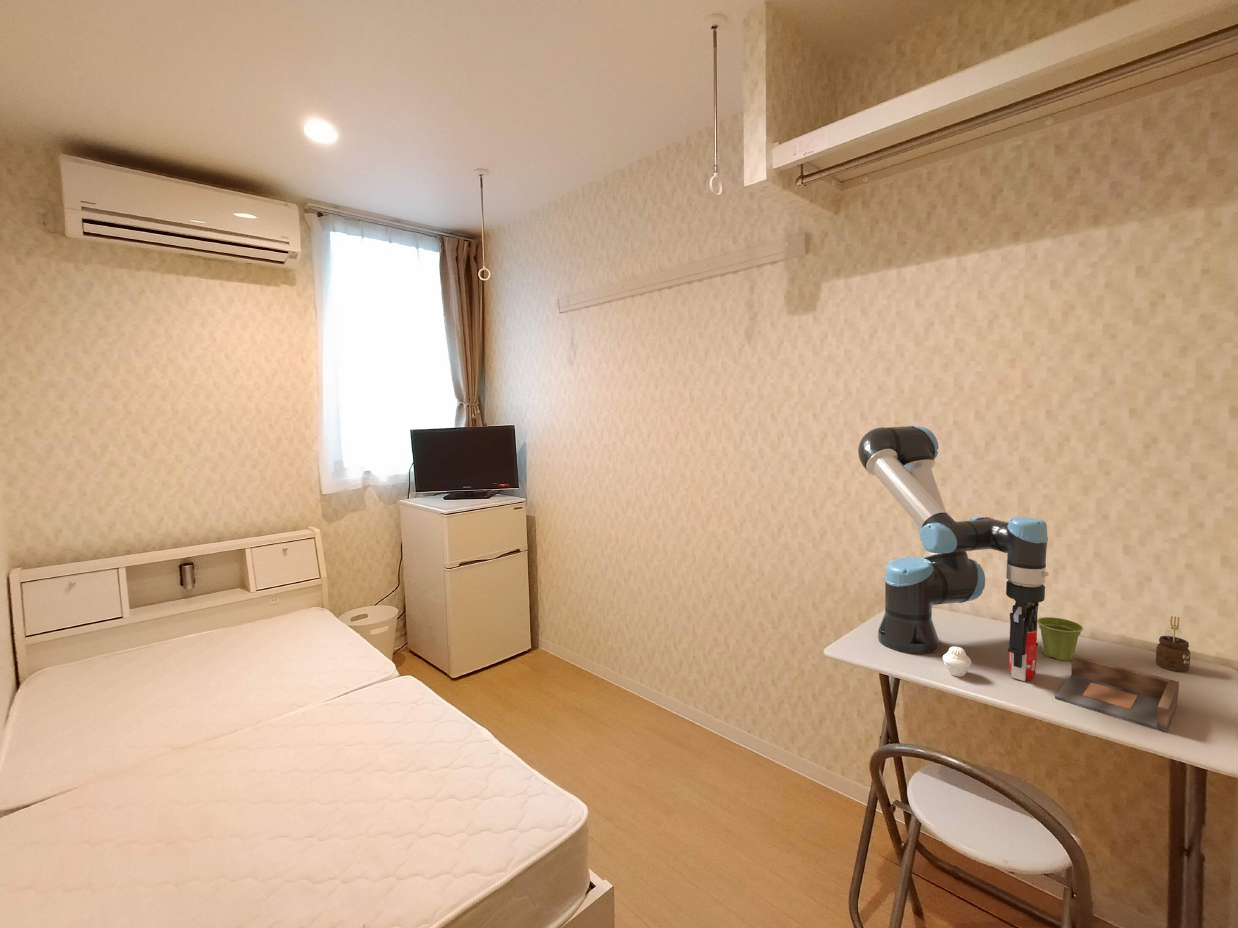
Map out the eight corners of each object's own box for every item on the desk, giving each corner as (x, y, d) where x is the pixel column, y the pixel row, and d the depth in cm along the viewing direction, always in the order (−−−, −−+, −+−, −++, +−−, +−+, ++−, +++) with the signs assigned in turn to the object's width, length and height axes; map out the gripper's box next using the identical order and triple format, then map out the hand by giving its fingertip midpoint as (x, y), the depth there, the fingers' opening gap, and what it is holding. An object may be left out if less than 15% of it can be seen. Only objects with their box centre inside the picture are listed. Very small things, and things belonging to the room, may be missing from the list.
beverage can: (1006, 676, 135) (1008, 628, 134) (1011, 668, 138) (1013, 622, 137) (1033, 682, 131) (1034, 634, 130) (1037, 675, 135) (1038, 627, 134)
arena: (1054, 698, 124) (1055, 677, 124) (1072, 674, 134) (1073, 655, 134) (1166, 732, 110) (1168, 708, 110) (1177, 703, 120) (1178, 681, 120)
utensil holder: (1155, 667, 136) (1158, 620, 135) (1155, 658, 141) (1158, 613, 140) (1189, 675, 132) (1193, 626, 131) (1188, 665, 137) (1192, 619, 135)
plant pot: (1090, 664, 139) (1092, 631, 138) (1047, 662, 141) (1049, 630, 140) (1068, 648, 148) (1069, 617, 147) (1028, 647, 150) (1029, 616, 149)
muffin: (955, 681, 133) (956, 653, 133) (936, 669, 139) (936, 643, 139) (977, 677, 135) (978, 650, 134) (957, 666, 141) (958, 640, 140)
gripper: (1033, 594, 124) (1029, 693, 126) (1055, 577, 135) (1051, 667, 138) (994, 587, 130) (991, 681, 132) (1018, 570, 141) (1015, 657, 143)
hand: (1022, 674), depth 135 cm, fingers closed on beverage can, 5 cm apart
